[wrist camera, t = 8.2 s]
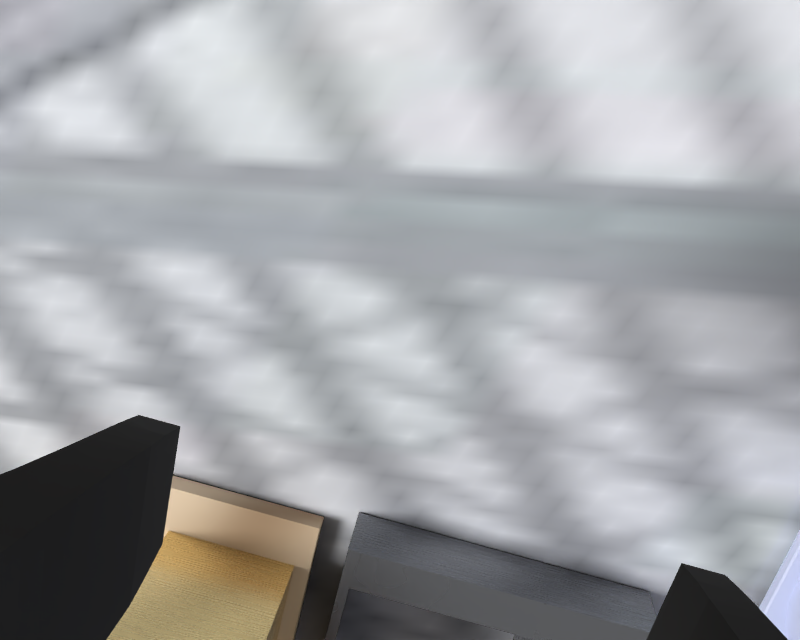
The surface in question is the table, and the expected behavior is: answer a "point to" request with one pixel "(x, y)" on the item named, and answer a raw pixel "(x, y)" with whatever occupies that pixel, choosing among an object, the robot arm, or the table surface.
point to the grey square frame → (487, 586)
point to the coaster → (249, 533)
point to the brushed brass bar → (207, 594)
